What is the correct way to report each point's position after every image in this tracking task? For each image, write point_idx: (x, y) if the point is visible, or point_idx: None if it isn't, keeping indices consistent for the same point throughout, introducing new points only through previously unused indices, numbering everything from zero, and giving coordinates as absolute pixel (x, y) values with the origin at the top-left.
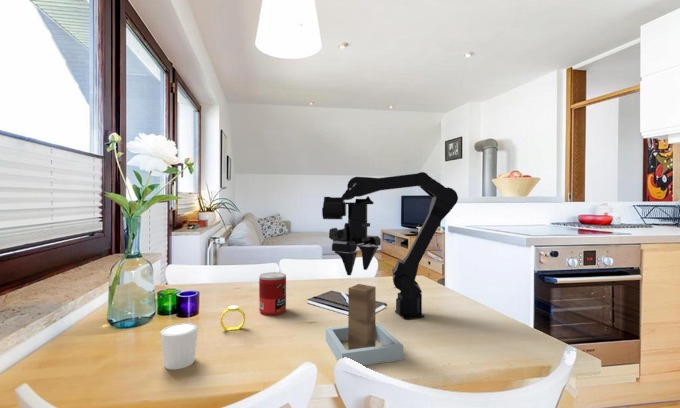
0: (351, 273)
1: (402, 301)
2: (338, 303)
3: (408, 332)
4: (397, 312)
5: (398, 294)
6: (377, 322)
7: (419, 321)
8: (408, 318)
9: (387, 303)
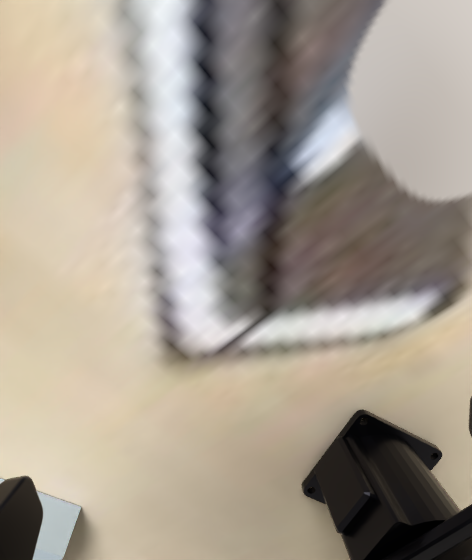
0: (32, 549)
1: (342, 537)
2: (279, 59)
3: (191, 557)
4: (328, 451)
5: (383, 527)
6: (60, 555)
7: (323, 525)
8: (314, 495)
9: (466, 300)
